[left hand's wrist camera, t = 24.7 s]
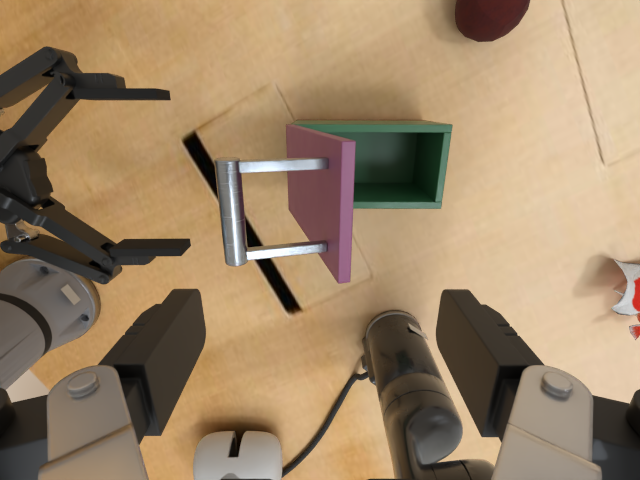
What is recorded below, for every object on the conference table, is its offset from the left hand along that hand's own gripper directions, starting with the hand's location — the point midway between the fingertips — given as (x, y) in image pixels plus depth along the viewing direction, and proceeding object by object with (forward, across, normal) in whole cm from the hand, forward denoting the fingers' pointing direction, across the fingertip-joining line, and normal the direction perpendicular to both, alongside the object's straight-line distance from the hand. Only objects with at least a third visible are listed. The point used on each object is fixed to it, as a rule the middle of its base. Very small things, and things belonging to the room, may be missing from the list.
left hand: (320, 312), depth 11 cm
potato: (+39, -19, -17) cm, 47 cm away
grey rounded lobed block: (+39, +15, +62) cm, 75 cm away
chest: (+39, -5, 0) cm, 40 cm away
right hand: (+21, +13, 0) cm, 25 cm away
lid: (+19, 0, 0) cm, 19 cm away
